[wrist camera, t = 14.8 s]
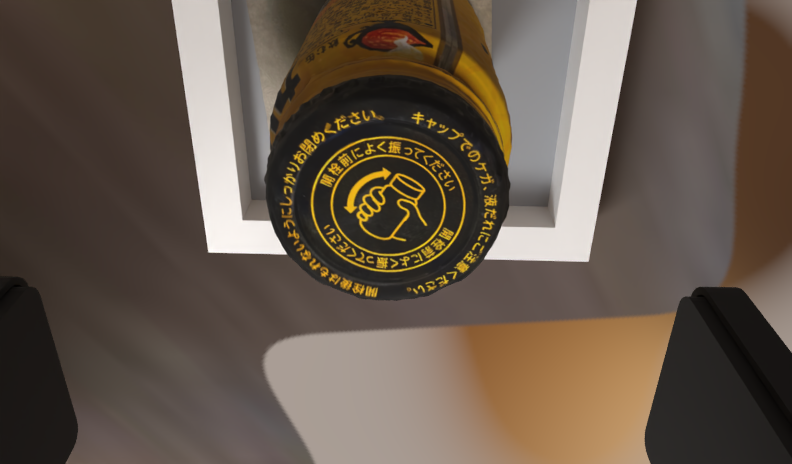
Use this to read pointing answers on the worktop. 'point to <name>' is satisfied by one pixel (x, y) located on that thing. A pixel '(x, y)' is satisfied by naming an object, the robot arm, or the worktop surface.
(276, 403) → the worktop surface
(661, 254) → the worktop surface
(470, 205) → the condiment
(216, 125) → the housing
